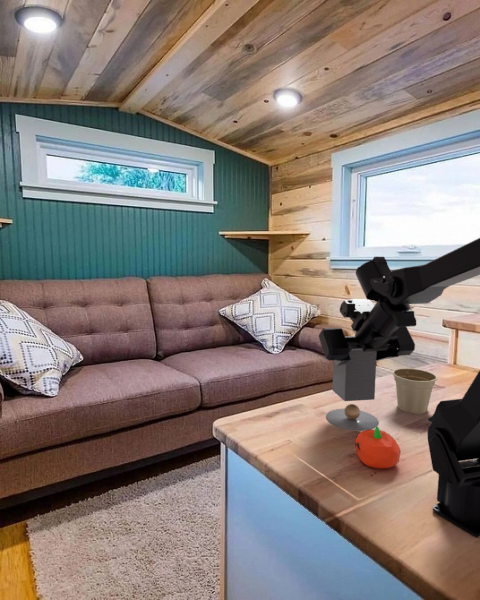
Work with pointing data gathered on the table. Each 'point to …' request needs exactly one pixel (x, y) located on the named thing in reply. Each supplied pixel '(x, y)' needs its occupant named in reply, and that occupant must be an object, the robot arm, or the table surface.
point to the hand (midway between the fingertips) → (351, 362)
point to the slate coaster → (359, 424)
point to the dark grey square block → (356, 376)
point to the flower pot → (413, 389)
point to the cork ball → (352, 411)
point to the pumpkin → (377, 449)
